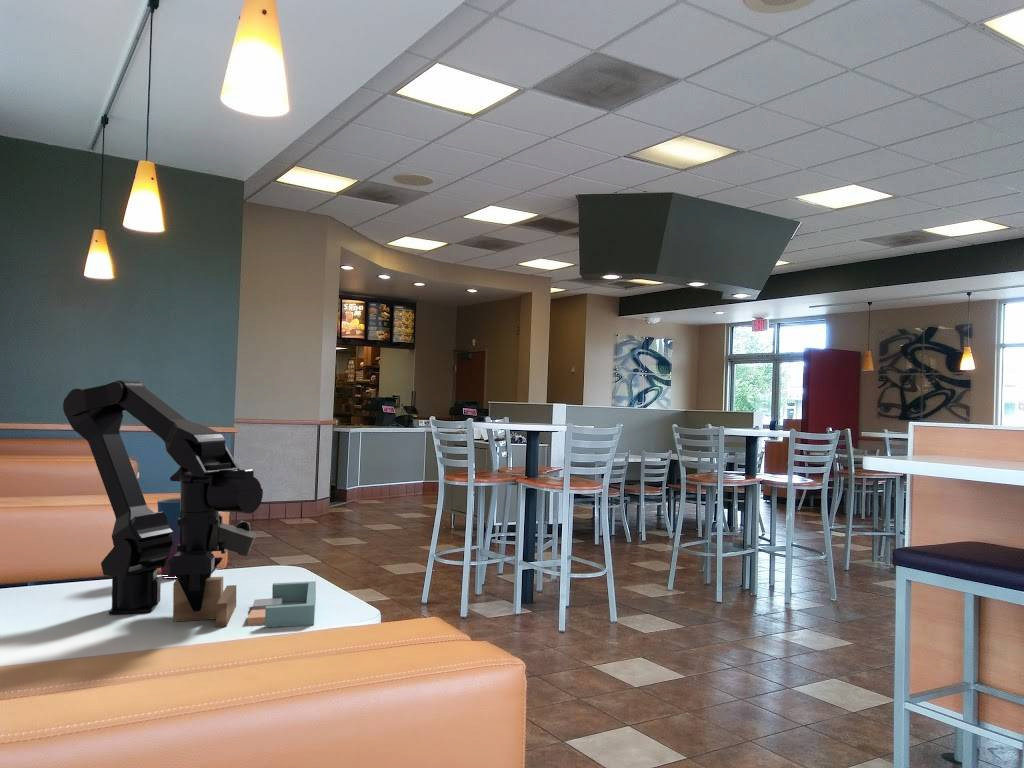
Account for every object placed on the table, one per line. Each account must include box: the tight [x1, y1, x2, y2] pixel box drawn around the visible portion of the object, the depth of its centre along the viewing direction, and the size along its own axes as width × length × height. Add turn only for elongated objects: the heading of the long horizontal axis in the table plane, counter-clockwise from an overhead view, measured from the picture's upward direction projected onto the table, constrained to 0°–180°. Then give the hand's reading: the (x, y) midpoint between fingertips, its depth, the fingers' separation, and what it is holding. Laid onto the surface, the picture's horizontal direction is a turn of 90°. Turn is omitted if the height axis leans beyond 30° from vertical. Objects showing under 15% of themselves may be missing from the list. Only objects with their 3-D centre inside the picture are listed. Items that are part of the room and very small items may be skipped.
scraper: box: [172, 576, 237, 628], centre depth 123 cm, size 8×12×6 cm
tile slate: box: [252, 598, 283, 610], centre depth 128 cm, size 4×4×2 cm
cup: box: [157, 497, 180, 578], centre depth 152 cm, size 7×7×15 cm
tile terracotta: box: [247, 609, 265, 626], centre depth 122 cm, size 4×4×2 cm
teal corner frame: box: [264, 580, 317, 629], centre depth 126 cm, size 7×16×3 cm, turn 13°
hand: (198, 608), depth 123 cm, fingers closed on scraper, 3 cm apart
